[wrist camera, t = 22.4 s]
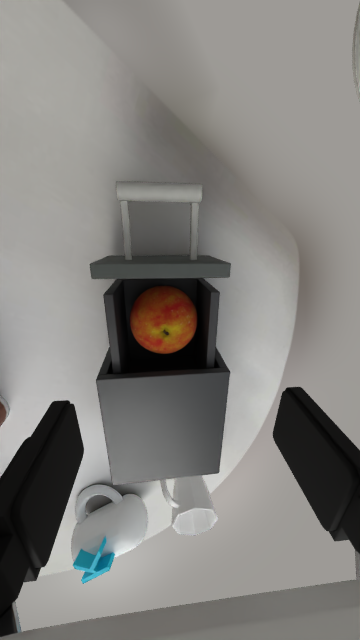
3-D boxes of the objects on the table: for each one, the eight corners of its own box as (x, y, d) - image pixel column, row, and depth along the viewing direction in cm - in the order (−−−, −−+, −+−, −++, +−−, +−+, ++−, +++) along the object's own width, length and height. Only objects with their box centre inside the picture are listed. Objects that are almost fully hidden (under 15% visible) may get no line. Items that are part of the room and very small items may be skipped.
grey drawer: (101, 191, 22) (76, 169, 15) (212, 195, 23) (238, 176, 16) (119, 360, 29) (108, 401, 22) (203, 356, 30) (219, 393, 23)
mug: (146, 569, 31) (79, 601, 32) (158, 512, 40) (106, 538, 42) (105, 497, 32) (40, 531, 33) (127, 456, 41) (75, 484, 42)
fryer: (113, 335, 28) (95, 379, 20) (207, 331, 30) (230, 371, 21) (123, 419, 34) (112, 485, 25) (202, 413, 35) (219, 473, 26)
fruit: (177, 342, 28) (186, 381, 20) (125, 324, 26) (113, 359, 19) (200, 292, 26) (219, 315, 18) (145, 270, 24) (141, 285, 17)
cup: (187, 486, 41) (194, 541, 34) (147, 465, 38) (146, 521, 30) (213, 465, 40) (227, 517, 32) (175, 441, 37) (180, 494, 29)
